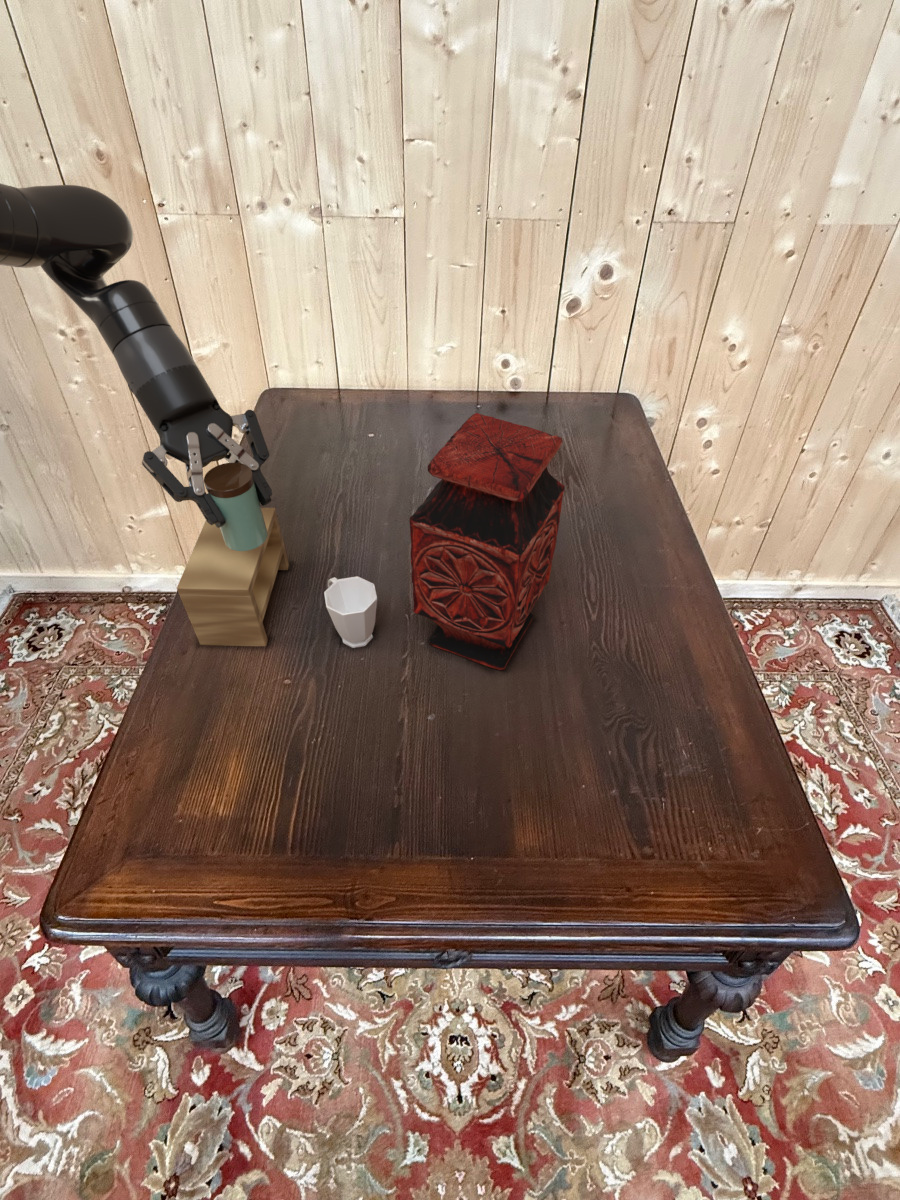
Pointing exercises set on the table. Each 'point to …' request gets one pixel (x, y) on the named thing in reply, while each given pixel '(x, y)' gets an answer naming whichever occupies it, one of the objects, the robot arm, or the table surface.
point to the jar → (237, 505)
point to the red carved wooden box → (486, 537)
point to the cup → (352, 609)
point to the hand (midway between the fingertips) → (244, 513)
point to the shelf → (231, 586)
